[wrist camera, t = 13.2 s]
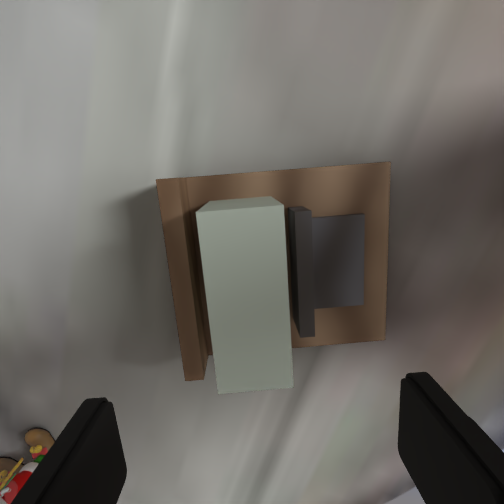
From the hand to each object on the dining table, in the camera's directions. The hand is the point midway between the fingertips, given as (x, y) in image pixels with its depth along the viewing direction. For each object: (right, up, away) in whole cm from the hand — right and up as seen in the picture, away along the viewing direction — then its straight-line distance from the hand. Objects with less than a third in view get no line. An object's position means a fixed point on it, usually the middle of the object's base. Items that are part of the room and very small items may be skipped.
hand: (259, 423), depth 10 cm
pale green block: (-1, +4, +17) cm, 17 cm away
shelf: (+3, +5, +18) cm, 19 cm away
